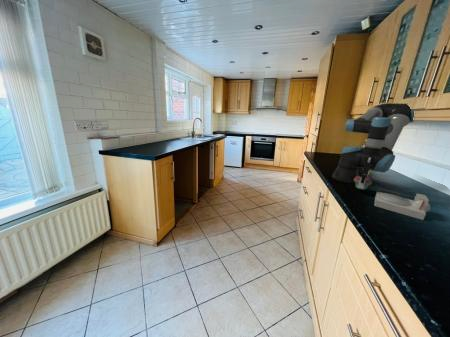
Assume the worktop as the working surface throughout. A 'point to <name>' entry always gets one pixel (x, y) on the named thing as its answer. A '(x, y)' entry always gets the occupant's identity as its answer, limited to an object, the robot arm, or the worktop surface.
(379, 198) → the scale
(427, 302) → the worktop surface
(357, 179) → the cupcake
